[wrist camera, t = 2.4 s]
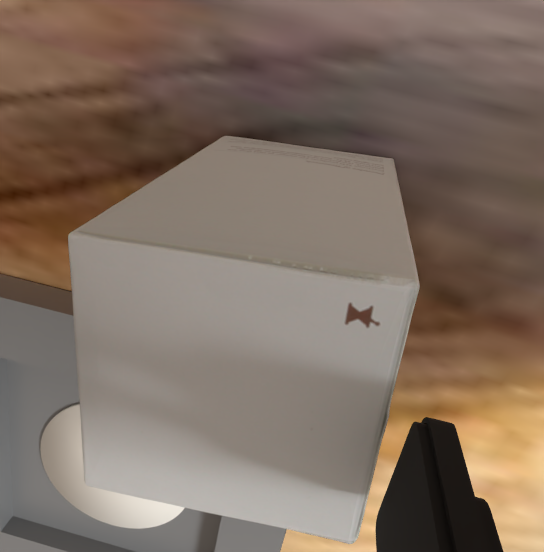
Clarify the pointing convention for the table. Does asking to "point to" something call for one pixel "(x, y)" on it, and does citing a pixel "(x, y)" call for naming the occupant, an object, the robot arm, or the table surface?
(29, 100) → the table surface
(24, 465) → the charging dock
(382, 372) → the supplement box
